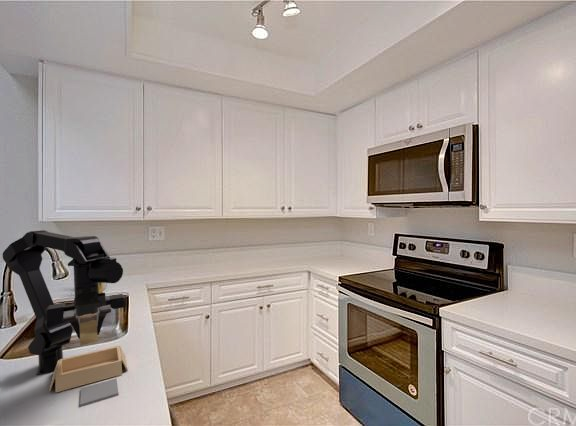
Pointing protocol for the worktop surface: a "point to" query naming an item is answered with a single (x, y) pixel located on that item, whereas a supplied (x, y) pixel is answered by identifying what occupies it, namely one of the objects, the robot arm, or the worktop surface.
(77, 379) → the carton
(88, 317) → the block
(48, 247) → the robot arm
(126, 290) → the worktop surface
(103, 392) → the mat
